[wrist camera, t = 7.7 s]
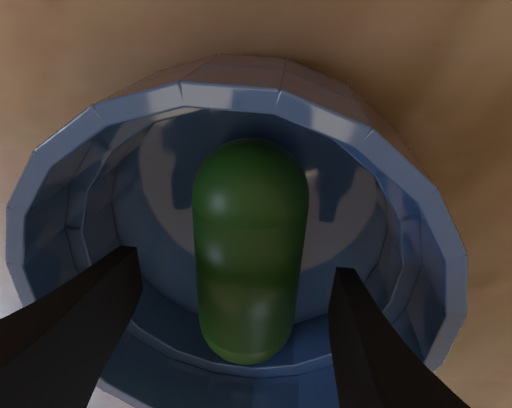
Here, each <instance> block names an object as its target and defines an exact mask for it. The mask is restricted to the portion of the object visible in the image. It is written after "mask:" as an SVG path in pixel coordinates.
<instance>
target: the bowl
mask: <svg viewBox="0 0 512 408" xmlns="http://www.w3.org/2000/svg"><path fill="white" fill-rule="evenodd" d="M240 138H261V139H265V140H269V141H271V142H273V143H276V144H278V145H280V146H281V147H283V148H284V149H286V150H287V151H288V152H289V153H291V154H292V155H293V156H294V158H295V159H296V160H297V161H298V163H299V164H300V166H301V167H302V169H303V171H304V174H305V176H306V178H307V183H308V187H309V208H308V216H307V224H306V232H305V239H304V247H303V255H302V263H301V271H300V278H299V286H298V294H297V302H296V309H295V317H294V324H293V327H292V331H291V334H290V336H289V338H288V340H287V342H286V343H285V345H284V346H283V347H282V349H281V350H280V351H279V352H278V353H276V354H275V355H274V356H273V357H271V358H270V359H268V360H266V361H264V362H261V363H258V364H253V365H239V364H235V363H231V362H229V361H227V360H225V359H223V358H221V357H220V356H219V355H217V354H216V353H215V352H214V351H213V350H212V349H211V348H210V347H209V346H208V344H207V342H206V340H205V338H204V337H203V335H202V332H201V327H200V323H199V313H198V297H197V280H196V264H195V248H194V231H193V215H192V187H193V182H194V179H195V175H196V173H197V171H198V170H199V168H200V166H201V164H202V162H203V161H204V160H205V159H206V158H207V157H208V156H209V154H210V153H211V152H213V151H214V150H215V149H217V148H218V147H220V146H221V145H223V144H225V143H228V142H230V141H233V140H236V139H240ZM119 246H131V247H137V252H138V258H139V265H140V271H141V277H142V283H143V292H142V294H141V297H140V300H139V303H138V305H137V308H136V310H135V312H134V315H133V317H132V319H131V320H130V322H129V324H128V326H127V328H126V330H125V332H124V333H123V335H122V337H121V339H120V341H119V342H118V344H117V346H116V348H115V350H114V352H113V353H112V355H111V357H110V359H109V361H108V362H107V364H106V366H105V368H104V370H103V372H102V374H101V376H100V378H99V380H98V382H97V384H96V386H97V387H98V388H100V389H101V390H103V391H105V392H107V393H109V394H111V395H113V396H114V397H116V398H118V399H120V400H122V401H124V402H126V403H128V404H130V405H131V406H133V407H135V408H339V400H338V393H337V387H336V380H335V373H334V367H333V360H332V353H331V347H330V340H329V323H328V307H329V302H330V297H331V292H332V286H333V281H334V276H335V271H336V267H345V268H354V269H355V270H356V271H357V273H358V275H359V276H360V278H361V280H362V282H363V283H364V285H365V287H366V288H367V290H368V291H369V293H370V295H371V296H372V298H373V299H374V301H375V302H376V304H377V305H378V307H379V308H380V310H381V311H382V312H383V314H384V315H385V317H386V318H387V320H388V321H389V322H390V324H391V325H392V326H393V328H394V329H395V330H396V331H397V333H398V334H399V335H400V337H401V338H402V339H403V340H404V342H405V343H406V344H407V345H408V346H409V348H410V349H411V350H412V351H413V352H414V353H415V354H416V355H417V357H418V358H419V359H420V360H421V361H422V362H423V363H424V364H425V365H426V366H427V367H428V368H429V369H430V371H431V372H432V373H434V372H435V371H436V370H437V369H439V368H440V367H441V365H443V363H444V361H445V359H446V357H447V355H448V353H449V351H450V349H451V347H452V345H453V343H454V341H455V339H456V337H457V335H458V333H459V331H460V329H461V327H462V325H463V323H464V321H465V319H466V315H467V284H468V255H467V250H466V248H465V246H464V244H463V242H462V239H461V237H460V235H459V233H458V231H457V228H456V226H455V224H454V222H453V220H452V217H451V215H450V213H449V211H448V209H447V206H446V204H445V202H444V200H443V198H442V196H441V193H440V191H439V189H438V188H437V186H436V185H435V183H434V182H433V181H432V179H431V178H430V177H429V175H428V174H427V173H426V171H425V170H424V168H423V167H422V166H421V164H420V163H419V162H418V160H417V159H416V158H415V156H414V155H413V154H412V152H411V151H410V149H409V148H408V147H407V145H406V144H405V143H404V141H403V140H402V139H401V137H400V136H399V135H398V133H397V132H396V130H395V129H394V128H393V127H392V126H391V125H390V124H389V123H388V122H387V121H386V120H385V119H384V118H383V117H382V116H381V115H380V114H379V113H378V112H377V111H375V110H374V109H373V108H372V107H371V106H370V105H369V104H368V103H367V102H366V101H365V100H364V99H363V98H362V97H361V96H360V95H358V94H357V93H356V92H355V91H354V90H353V89H352V88H351V87H350V86H347V84H344V83H342V82H340V81H337V80H335V79H333V78H331V77H328V76H326V75H324V74H321V73H319V72H317V71H314V70H312V69H310V68H307V67H305V66H303V65H301V64H298V63H296V62H294V61H291V60H287V59H286V58H274V57H260V56H246V55H233V54H220V55H218V54H217V55H213V56H210V57H206V58H202V59H199V60H195V61H192V62H188V63H185V64H181V65H178V66H174V67H170V68H167V69H163V70H160V71H158V72H156V73H154V74H152V75H150V76H148V77H146V78H144V79H142V80H140V81H138V82H136V83H134V84H132V85H130V86H128V87H126V88H124V89H122V90H120V91H118V92H116V93H114V94H112V95H110V96H108V97H106V98H104V99H102V100H100V101H98V102H96V103H94V104H92V105H90V106H89V107H88V108H86V109H85V110H84V111H83V112H81V113H80V114H79V115H77V116H76V117H75V118H74V119H72V120H71V121H70V122H68V123H67V124H66V125H65V126H63V127H62V128H61V129H59V130H58V131H57V132H56V133H54V134H53V135H52V136H50V137H49V138H48V139H47V140H45V141H44V142H43V143H41V144H40V145H39V146H38V147H36V148H35V150H34V151H33V152H32V154H31V156H30V158H29V160H28V162H27V164H26V167H25V169H24V171H23V173H22V175H21V177H20V179H19V181H18V183H17V185H16V187H15V189H14V191H13V193H12V195H11V197H10V199H9V201H8V203H7V207H6V254H5V260H6V265H7V267H8V270H9V273H10V275H11V278H12V280H13V283H14V286H15V288H16V291H17V294H18V296H19V299H20V301H21V304H22V307H23V308H24V307H25V306H27V305H29V304H31V303H33V302H35V301H36V300H38V299H40V298H42V297H43V296H45V295H47V294H48V293H50V292H51V291H53V290H55V289H56V288H58V287H59V286H61V285H63V284H64V283H66V282H67V281H69V280H71V279H72V278H74V277H75V276H77V275H78V274H79V273H81V272H82V271H84V270H85V269H87V268H88V267H90V266H91V265H93V264H94V263H95V262H97V261H98V260H100V259H101V258H103V257H104V256H106V255H107V254H108V253H110V252H111V251H113V250H114V249H116V248H117V247H119Z"/></svg>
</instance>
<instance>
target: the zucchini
mask: <svg viewBox="0 0 512 408" xmlns="http://www.w3.org/2000/svg"><path fill="white" fill-rule="evenodd" d="M308 208H309V187H308V183H307V178H306V176H305V174H304V171H303V169H302V167H301V166H300V164H299V163H298V161H297V160H296V159H295V158H294V156H293V155H292V154H291V153H289V152H288V151H287V150H286V149H284V148H283V147H281V146H280V145H278V144H276V143H273V142H271V141H269V140H265V139H261V138H240V139H236V140H233V141H230V142H228V143H225V144H223V145H221V146H220V147H218V148H217V149H215V150H214V151H213V152H211V153H210V154H209V156H208V157H207V158H206V159H205V160H204V161H203V162H202V164H201V166H200V168H199V170H198V171H197V173H196V175H195V179H194V182H193V187H192V215H193V231H194V248H195V264H196V280H197V297H198V313H199V323H200V327H201V332H202V335H203V337H204V338H205V340H206V342H207V344H208V346H209V347H210V348H211V349H212V350H213V351H214V352H215V353H216V354H217V355H219V356H220V357H221V358H223V359H225V360H227V361H229V362H231V363H235V364H239V365H253V364H258V363H261V362H264V361H266V360H268V359H270V358H271V357H273V356H274V355H275V354H276V353H278V352H279V351H280V350H281V349H282V347H283V346H284V345H285V343H286V342H287V340H288V338H289V336H290V334H291V331H292V327H293V324H294V317H295V309H296V302H297V294H298V286H299V278H300V271H301V263H302V255H303V247H304V239H305V232H306V224H307V216H308Z"/></svg>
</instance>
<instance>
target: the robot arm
mask: <svg viewBox="0 0 512 408" xmlns="http://www.w3.org/2000/svg"><path fill="white" fill-rule="evenodd" d="M142 292H143V283H142V277H141V271H140V265H139V258H138V252H137V247H131V246H119V247H117V248H116V249H114V250H113V251H111V252H110V253H108V254H107V255H106V256H104V257H103V258H101V259H100V260H98V261H97V262H95V263H94V264H93V265H91V266H90V267H88V268H87V269H85V270H84V271H82V272H81V273H79V274H78V275H77V276H75V277H74V278H72V279H71V280H69V281H67V282H66V283H64V284H63V285H61V286H59V287H58V288H56V289H55V290H53V291H51V292H50V293H48V294H47V295H45V296H43V297H42V298H40V299H38V300H36V301H35V302H33V303H31V304H29V305H27V306H25V307H24V308H22V309H20V310H18V311H16V312H14V313H12V314H10V315H8V316H6V317H4V318H2V319H0V408H86V407H87V405H88V403H89V400H90V398H91V396H92V393H93V391H94V389H95V386H96V384H97V382H98V380H99V378H100V376H101V374H102V372H103V370H104V368H105V366H106V364H107V362H108V361H109V359H110V357H111V355H112V353H113V352H114V350H115V348H116V346H117V344H118V342H119V341H120V339H121V337H122V335H123V333H124V332H125V330H126V328H127V326H128V324H129V322H130V320H131V319H132V317H133V315H134V312H135V310H136V308H137V305H138V303H139V300H140V297H141V294H142ZM328 323H329V340H330V347H331V353H332V360H333V367H334V373H335V380H336V387H337V393H338V400H339V408H470V407H469V406H468V405H467V404H466V403H464V402H463V401H462V400H461V399H460V398H459V397H458V396H457V395H456V394H454V393H453V392H452V391H451V390H450V389H449V388H448V387H447V386H446V385H445V384H444V383H443V382H442V381H441V380H440V379H439V378H438V377H437V376H436V375H434V374H433V373H432V372H431V371H430V369H429V368H428V367H427V366H426V365H425V364H424V363H423V362H422V361H421V360H420V359H419V358H418V357H417V355H416V354H415V353H414V352H413V351H412V350H411V349H410V348H409V346H408V345H407V344H406V343H405V342H404V340H403V339H402V338H401V337H400V335H399V334H398V333H397V331H396V330H395V329H394V328H393V326H392V325H391V324H390V322H389V321H388V320H387V318H386V317H385V315H384V314H383V312H382V311H381V310H380V308H379V307H378V305H377V304H376V302H375V301H374V299H373V298H372V296H371V295H370V293H369V291H368V290H367V288H366V287H365V285H364V283H363V282H362V280H361V278H360V276H359V275H358V273H357V271H356V270H355V269H354V268H345V267H336V271H335V276H334V281H333V286H332V292H331V297H330V302H329V307H328Z"/></svg>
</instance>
